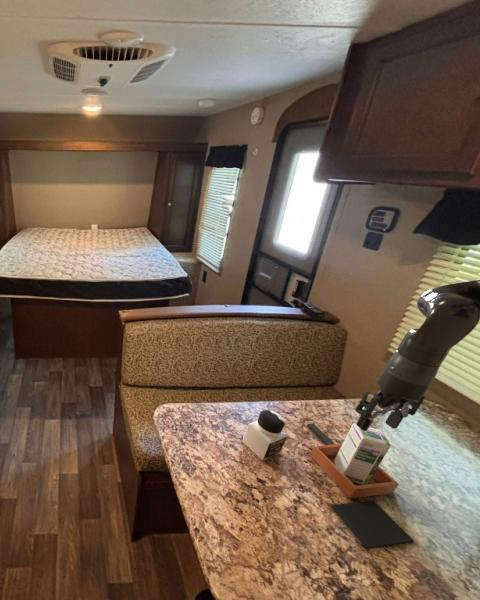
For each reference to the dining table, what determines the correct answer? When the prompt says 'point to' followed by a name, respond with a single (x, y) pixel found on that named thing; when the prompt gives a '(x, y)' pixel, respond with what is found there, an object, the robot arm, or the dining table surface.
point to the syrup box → (361, 454)
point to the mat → (371, 524)
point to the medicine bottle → (266, 435)
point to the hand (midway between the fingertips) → (375, 426)
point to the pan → (330, 448)
